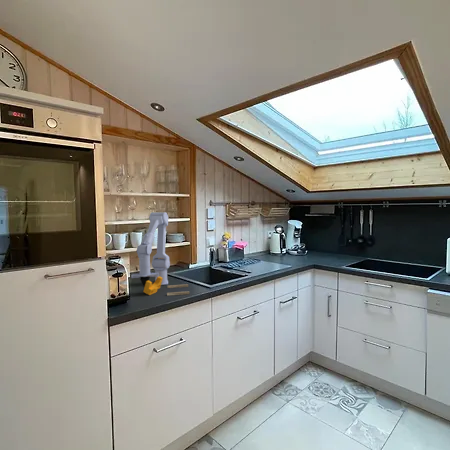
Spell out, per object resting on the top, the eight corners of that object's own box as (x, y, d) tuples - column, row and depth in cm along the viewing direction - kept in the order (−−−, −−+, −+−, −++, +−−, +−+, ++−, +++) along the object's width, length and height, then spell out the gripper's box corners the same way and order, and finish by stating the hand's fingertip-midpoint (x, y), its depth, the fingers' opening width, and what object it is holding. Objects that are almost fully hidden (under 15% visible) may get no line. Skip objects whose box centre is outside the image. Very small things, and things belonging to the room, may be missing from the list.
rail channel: (167, 287, 178) (167, 285, 177) (188, 286, 179) (188, 284, 179) (167, 295, 162) (166, 293, 162) (189, 294, 164) (189, 292, 164)
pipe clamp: (149, 295, 163) (152, 284, 162) (143, 291, 164) (146, 281, 163) (162, 289, 174) (165, 279, 173) (156, 286, 175) (159, 276, 174)
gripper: (130, 268, 162) (130, 293, 162) (157, 266, 164) (158, 291, 165) (131, 265, 168) (132, 289, 169) (158, 264, 171) (159, 287, 172)
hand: (145, 290), depth 168 cm, fingers closed
